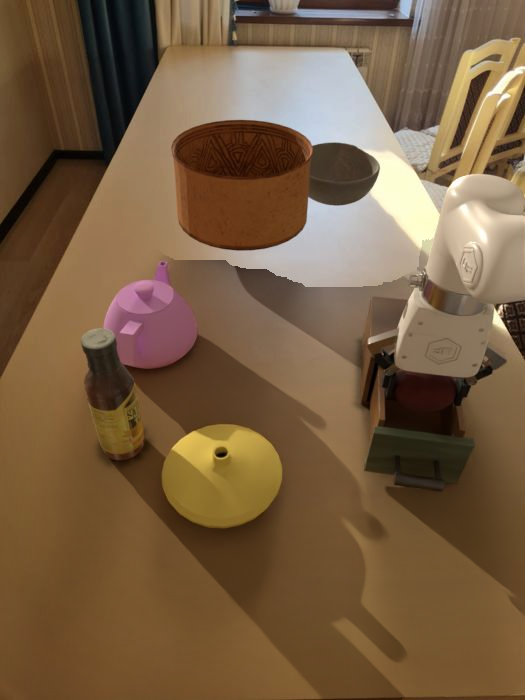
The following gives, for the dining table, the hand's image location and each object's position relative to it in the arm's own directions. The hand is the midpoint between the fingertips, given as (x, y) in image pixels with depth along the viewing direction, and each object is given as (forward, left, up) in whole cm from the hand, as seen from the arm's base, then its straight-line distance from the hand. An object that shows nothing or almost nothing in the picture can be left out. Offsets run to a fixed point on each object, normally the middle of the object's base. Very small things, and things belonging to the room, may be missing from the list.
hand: (421, 393), depth 72 cm
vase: (+7, +27, -10) cm, 29 cm away
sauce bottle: (+20, +36, -10) cm, 42 cm away
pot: (+61, -7, -10) cm, 62 cm away
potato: (0, 0, -2) cm, 2 cm away
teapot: (+38, +24, -10) cm, 46 cm away
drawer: (-2, +2, -9) cm, 9 cm away
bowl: (+65, -35, -10) cm, 74 cm away
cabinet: (+10, -8, -10) cm, 16 cm away
